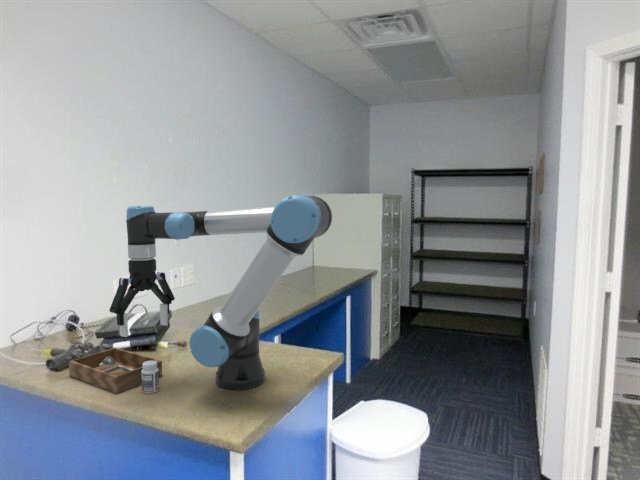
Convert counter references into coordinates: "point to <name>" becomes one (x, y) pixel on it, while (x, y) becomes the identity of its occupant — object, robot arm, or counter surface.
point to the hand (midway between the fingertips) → (145, 330)
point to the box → (111, 370)
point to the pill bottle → (150, 377)
